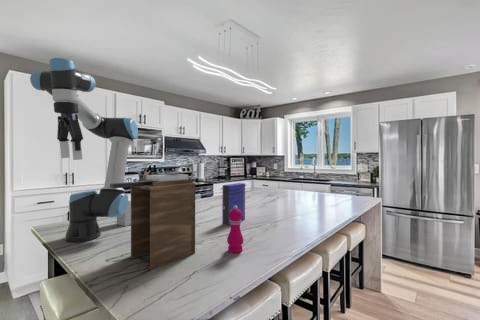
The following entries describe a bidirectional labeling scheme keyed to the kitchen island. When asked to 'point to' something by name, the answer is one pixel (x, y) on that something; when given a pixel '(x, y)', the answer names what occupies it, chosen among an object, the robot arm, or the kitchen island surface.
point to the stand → (163, 220)
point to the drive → (152, 180)
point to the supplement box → (125, 216)
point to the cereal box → (233, 200)
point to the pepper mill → (235, 231)
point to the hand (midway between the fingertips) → (71, 158)
